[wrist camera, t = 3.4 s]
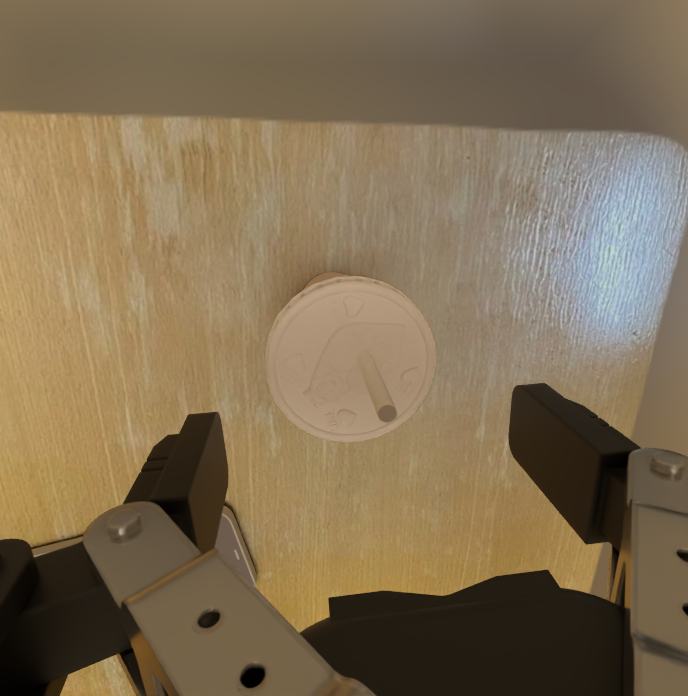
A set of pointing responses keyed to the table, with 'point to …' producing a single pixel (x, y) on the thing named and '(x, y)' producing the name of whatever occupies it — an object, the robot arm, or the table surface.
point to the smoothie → (349, 358)
